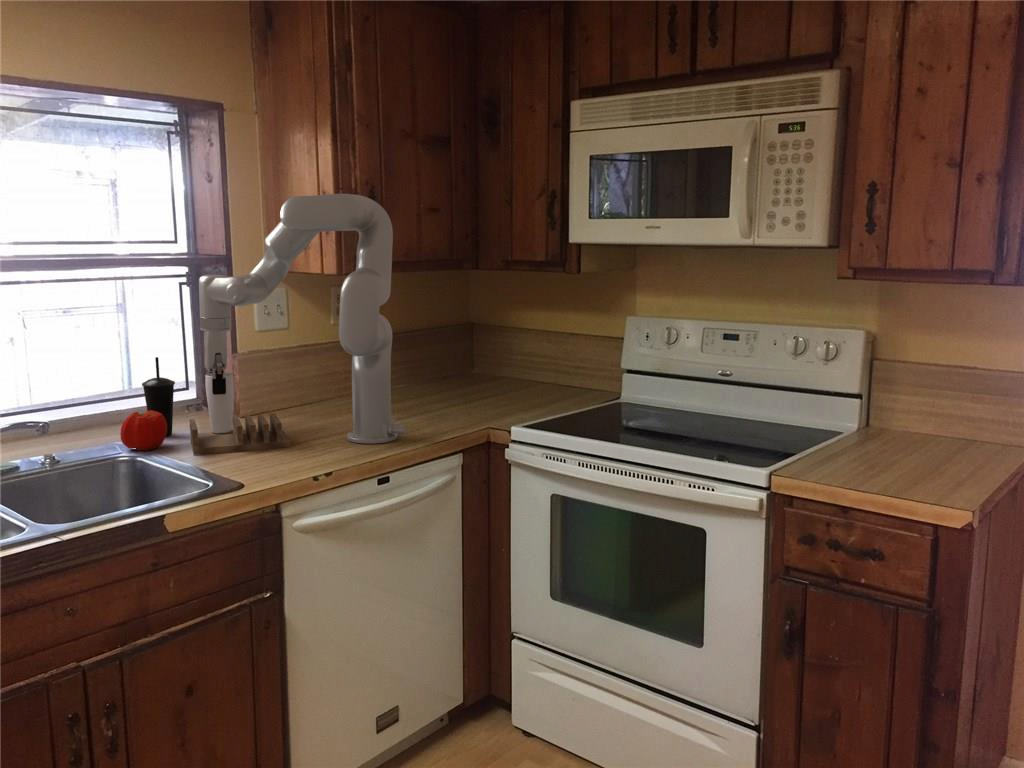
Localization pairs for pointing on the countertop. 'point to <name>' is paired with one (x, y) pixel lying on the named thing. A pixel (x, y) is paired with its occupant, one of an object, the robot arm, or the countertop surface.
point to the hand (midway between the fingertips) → (217, 390)
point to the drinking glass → (220, 405)
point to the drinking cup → (160, 397)
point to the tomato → (144, 430)
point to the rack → (242, 436)
